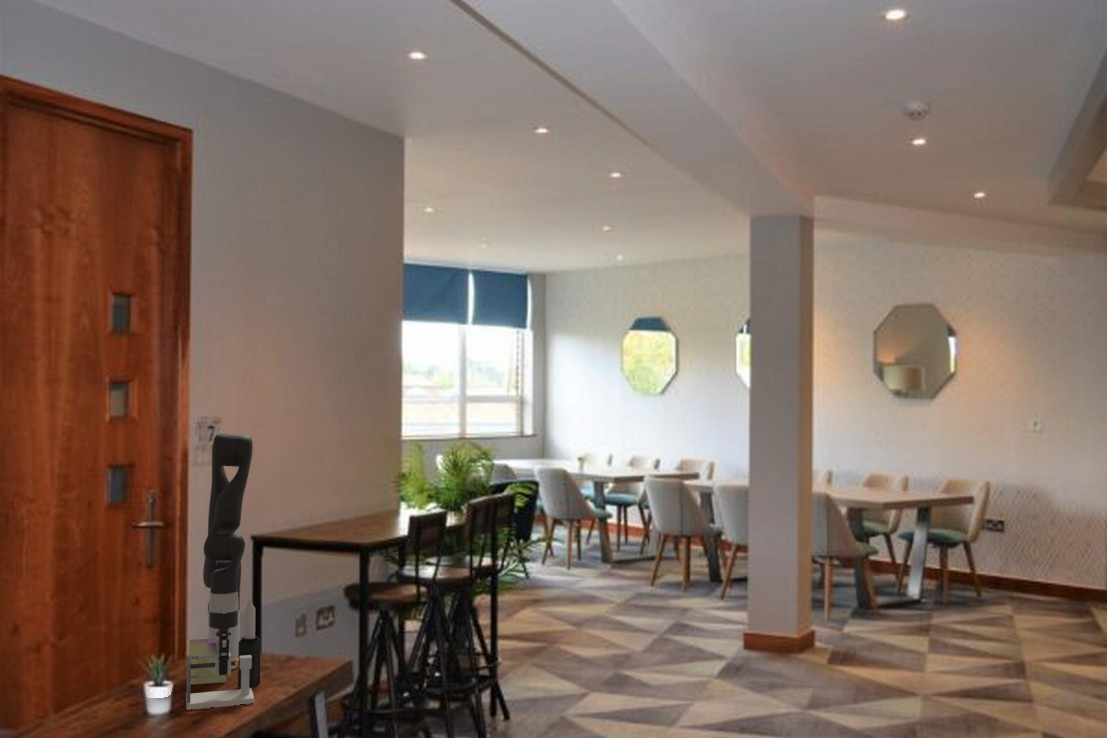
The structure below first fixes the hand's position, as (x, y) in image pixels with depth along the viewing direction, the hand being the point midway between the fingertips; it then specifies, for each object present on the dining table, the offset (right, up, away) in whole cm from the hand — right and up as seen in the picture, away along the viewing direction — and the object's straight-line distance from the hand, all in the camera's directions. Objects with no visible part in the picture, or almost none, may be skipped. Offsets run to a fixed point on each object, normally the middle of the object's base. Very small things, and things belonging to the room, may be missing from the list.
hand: (222, 672), depth 282 cm
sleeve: (0, 0, 0) cm, 0 cm away
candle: (+3, -8, +16) cm, 18 cm away
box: (-11, -8, +19) cm, 24 cm away
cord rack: (-1, -8, 0) cm, 8 cm away
